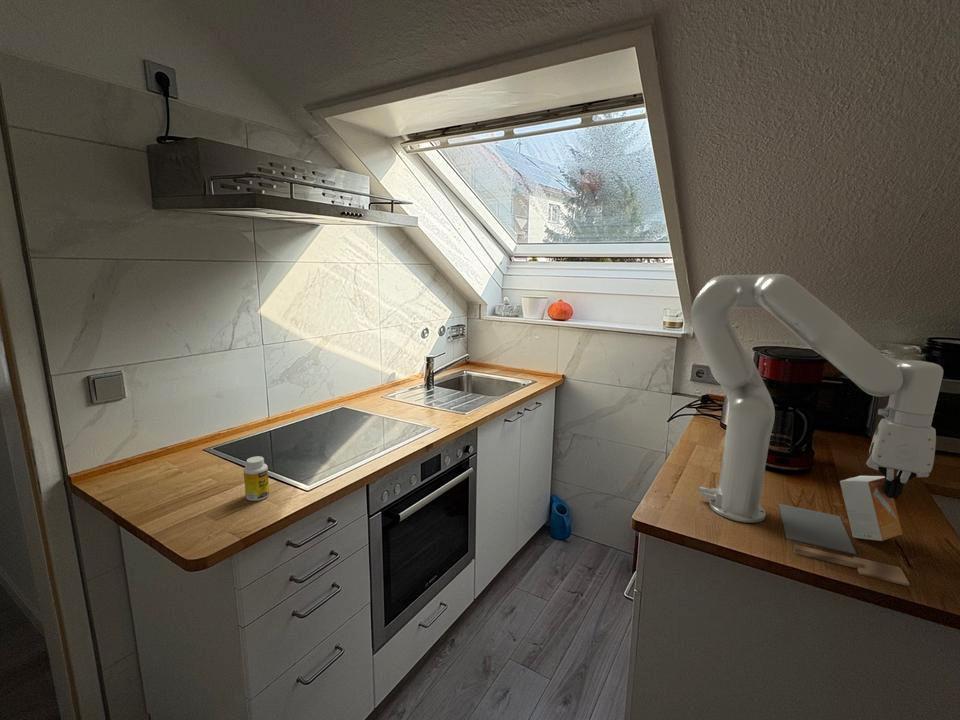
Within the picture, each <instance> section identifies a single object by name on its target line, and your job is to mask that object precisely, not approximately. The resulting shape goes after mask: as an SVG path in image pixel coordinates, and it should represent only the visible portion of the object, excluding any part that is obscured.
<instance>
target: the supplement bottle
mask: <svg viewBox="0 0 960 720" xmlns="http://www.w3.org/2000/svg"><path fill="white" fill-rule="evenodd" d="M243 479H244V496H245V498H246V500H247V501H250V502H258V501H262V500H264V499H266V498H267V497H268V496H269V495H270V488H269V487H270V486H269V484H270V483H269V482H270V481H269V467H268V465H267V464H266V463H265V458H264V457H263V456H259V455H258V456H257V455H256V456H252V457H249V458H247V459H246V466H244V468H243Z"/></svg>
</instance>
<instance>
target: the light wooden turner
mask: <svg viewBox="0 0 960 720" xmlns="http://www.w3.org/2000/svg"><path fill="white" fill-rule="evenodd" d="M793 552H794V554H796V555H801V556H802V557H803V556H804V557H808V558H813V559H816V560H820V561H824V562H825V561H826V562H827V563H833V564H837V565H840V566H846V567H849V568H853V569H857V572H858V575H862V576H866V577H869V578H874V579H876V580H877V579H878V580H881V581H882V580H883V581H886V582H889V583H894V584H897V585H903V586H906V587H910V586H911V584H910V582H909V579H908V578H907V577H906V575H905V573H904V572H903V570H902V568H901V567H900V566H895V565H891V564H887V563H883V562H879V561H874V560H871V559H870V560H869V559H865V558H862V557H857V556H852V557H849V556H847V555H842V554H838V553H832V552H828V551H826V550H821V549H816V548H811V547H808V546H804V545H800V544H799V545H798V544H794V546H793Z"/></svg>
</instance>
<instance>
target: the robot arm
mask: <svg viewBox="0 0 960 720" xmlns="http://www.w3.org/2000/svg"><path fill="white" fill-rule="evenodd" d="M733 309H764V310H766V311H767V312H768V313H769V314H770V315H772V316H773V318H775V319H776V320H778V322H780V323H781V324H782V325H783V326H784V327H785V328H787V329H788V330H790V332H791V333H792V334H793V335H795V336H796V337H797V338H799V340H801V341H802V342H803V343H804V344H805V345H807V346H808V347H809V349H811V350H813V351H814V352H816V353H817V354H818V355H820V356H822V358H824V359H826V360H827V361H829V362H828V363H831V365H833V367H835V368H836V369H837V370H839V371H840V372H841V373H842V374H844V376H846V377H847V378H848V379H850V380H851V382H853V383H854V384H855V386H857V387H858V388H860V390H862V391H863V392H864V393H866V394H868V395H870V396H873V397H878V398H879V397H889V399H888V403H887V405H886V407H885V408H879V409H878V411H877V415H879V416H882V417H884V418H881V419H880V421H879V423H878V424H877V427H876V428H875V432H874V434H873V437H872V441H871V444H870V447H869V450H868V451H869V452H868V459H867V461H866V462H865V464H866V466H867V467H868V468H870V469H873V470H876V471H879V472H880V473H881V474H882V476H885V479H884V484H883V492H885V494H886V496H887V497H888V498H892V497H893V498H894V500H898V498H899V496H902V493H903V489H904V485H905V484H906V483H907V482H908V481H910V480H912V479H914V478H928V477H929V476H930V473H931V472H932V470H933V467H934V462H935V453H936V445H937V444H936V443H937V434H936V433H937V431H936V428H934V427H933V426H932V423H933V418H934V415H935V414H934V413H935V409H936V406H937V401H938V397H939V394H940V389H941V385H942V382H943V381H942V380H943V377H944V368H943V367H942V366H941V365H940V364H937V363H934V362H931V361H930V362H929V361H923V360H917V359H916V360H914V359H913V360H912V359H906V360H905V359H897V358H891V357H886V356H885V355H884V354H883V353H882V352H880V351H879V350H878V349H877V348H876V347H874V346H873V345H872V344H870V343H869V342H868V341H867V340H866V339H864V338H863V337H862V336H861V335H860V334H859V333H857V332H856V331H855V330H854V329H853V328H852V327H851V326H850V325H849V324H848V323H847V322H846V321H845V320H844V319H842V318H841V317H840V316H839V315H838V314H837V313H835V311H833V310H832V309H830V307H828V306H827V305H825V304H824V303H823V302H822V301H820V300H819V299H818V298H817V297H816V296H815V295H814V294H813V293H811V292H810V291H809V290H807V288H805V287H804V286H803V285H802V284H800V283H799V282H798V281H796V280H795V279H794V278H793V277H792V276H789V275H787V274H782V273H766V274H764V273H763V274H721V275H717V276H715V277H712V278H711V279H709V280H708V281H707V282H706V283H705V285H704V286H703V287H701V289H700V291H699V292H698V293H697V295H696V297H695V298H694V300H693V302H692V306H691V309H690V323H691V328H692V331H693V333H694V335H695V339H696V340H697V342H698V344H699V347H700V350H701V352H702V353H703V355H704V358H705V360H706V363H707V364H708V367H709V370H710V372H711V375H712V377H713V378H714V380H715V381H716V382H717V383H718V384H720V387H721V390H722V391H723V392H724V395H725V397H726V398H727V401H728V414H727V422H726V428H725V429H726V430H725V437H724V444H723V451H722V459H721V467H720V473H719V481H718V484H717V485H716V488H715V487H711V488H710V487H709V488H708V487H706V486H700V485H698V491H697V493H698V494H700V495H702V498H703V499H704V498H705V499H709V506H710V509H712V511H714V512H715V513H716V514H718V515H720V516H722V517H723V518H726V519H729V520H732V521H735V522H738V523H739V522H740V523H741V522H742V523H747V524H748V523H750V524H751V523H759V522H762V521H764V520H765V518H766V516H767V515H766V511H765V508H763V507H762V506H761V504H760V503H761V498H762V497H761V496H762V493H763V492H762V491H763V485H764V479H765V478H764V477H765V471H766V465H767V459H768V454H769V453H768V452H769V447H770V441H771V436H772V432H773V428H774V423H775V416H776V413H775V404H774V402H773V399H772V396H771V393H770V392H769V390H768V388H767V386H766V384H765V382H764V379H763V378H762V376H761V374H760V372H759V369H758V367H757V366H756V363H755V362H754V358H753V357H752V356H751V354H750V352H749V351H748V350H747V349H746V348H744V346H743V344H742V343H741V341H740V339H739V337H738V334H737V332H736V330H735V328H734V326H733V323H732V322H731V311H732V310H733ZM895 470H896V471H897V472H896V475H895ZM894 475H895V476H894Z"/></svg>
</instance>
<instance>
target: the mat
mask: <svg viewBox="0 0 960 720" xmlns="http://www.w3.org/2000/svg"><path fill="white" fill-rule="evenodd" d="M778 507H779V510H780V511H779V512H780V516H781V521H782V525H783V529H784V534H785V538H786V540H791V541H795V542H799V543H804V544H808V545H811V546H817V547H820V548H821V547H822V548H825V549H830V550H833V551H837V552H842V553H846V554H851V555H854V556H856V555H857V552H856V550H855V547H854V546H853V543H852V541H851V539H850V537H849V535H848V532H847V530H846V528H845V525H844V523H843V521H842V519H841V516H840V515H836V514H831V513H827V512H822V511H818V510H817V511H816V510H811V509H809V508H808V509H806V508H801V507H797V506H793V505H788V504H783V503H778Z"/></svg>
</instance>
